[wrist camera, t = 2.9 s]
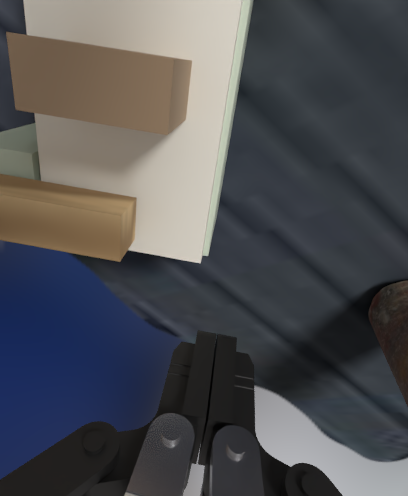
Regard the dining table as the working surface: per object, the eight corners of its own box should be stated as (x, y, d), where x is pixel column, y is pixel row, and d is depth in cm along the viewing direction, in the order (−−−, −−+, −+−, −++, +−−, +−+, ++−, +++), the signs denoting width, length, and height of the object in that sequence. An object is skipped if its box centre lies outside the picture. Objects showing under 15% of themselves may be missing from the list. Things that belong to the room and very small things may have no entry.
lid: (22, -206, 15) (-114, -370, 9) (270, -174, 15) (283, -324, 9) (56, 226, 26) (1, 272, 20) (203, 252, 25) (189, 307, 19)
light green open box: (21, -135, 22) (-117, -257, 14) (270, -100, 22) (284, -205, 13) (48, 185, 33) (-20, 226, 24) (216, 215, 32) (205, 267, 24)
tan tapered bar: (-16, 171, 22) (-74, 194, 18) (136, 197, 21) (111, 227, 17) (-8, 213, 23) (-61, 243, 19) (134, 239, 23) (110, 275, 19)
